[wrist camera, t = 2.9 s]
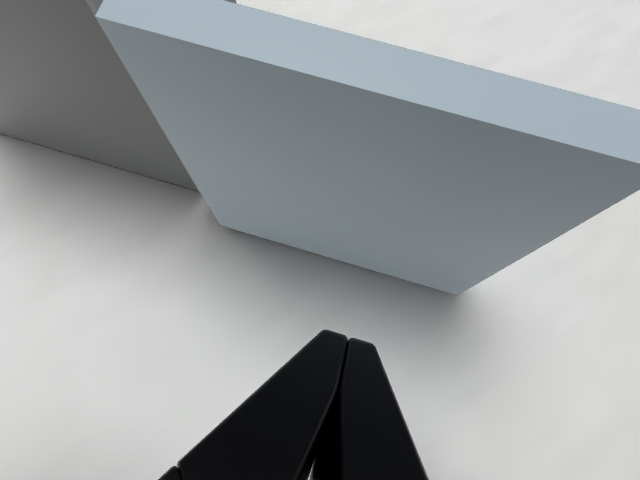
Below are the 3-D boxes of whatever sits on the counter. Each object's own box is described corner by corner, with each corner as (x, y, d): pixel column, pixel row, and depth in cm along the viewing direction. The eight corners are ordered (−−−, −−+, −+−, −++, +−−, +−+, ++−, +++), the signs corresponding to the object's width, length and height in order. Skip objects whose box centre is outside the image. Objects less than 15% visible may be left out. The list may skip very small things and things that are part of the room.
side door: (457, 295, 15) (670, 171, 6) (199, 219, 16) (48, 4, 7) (464, 260, 16) (677, 94, 7) (211, 186, 16) (84, -60, 7)
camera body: (467, 272, 16) (710, 104, 6) (-8, 134, 17) (-433, -193, 7) (502, 111, 18) (736, -219, 8) (69, -5, 19) (-192, -419, 9)
